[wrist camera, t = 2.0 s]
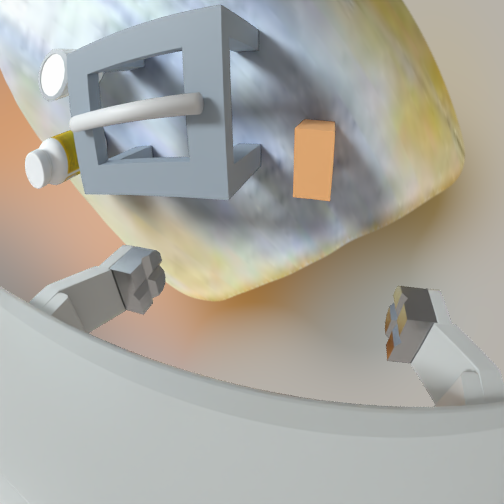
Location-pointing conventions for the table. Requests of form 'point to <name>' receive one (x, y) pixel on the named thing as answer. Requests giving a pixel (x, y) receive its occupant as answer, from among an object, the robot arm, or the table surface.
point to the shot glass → (55, 75)
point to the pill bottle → (53, 161)
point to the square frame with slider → (165, 108)
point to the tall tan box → (313, 159)
